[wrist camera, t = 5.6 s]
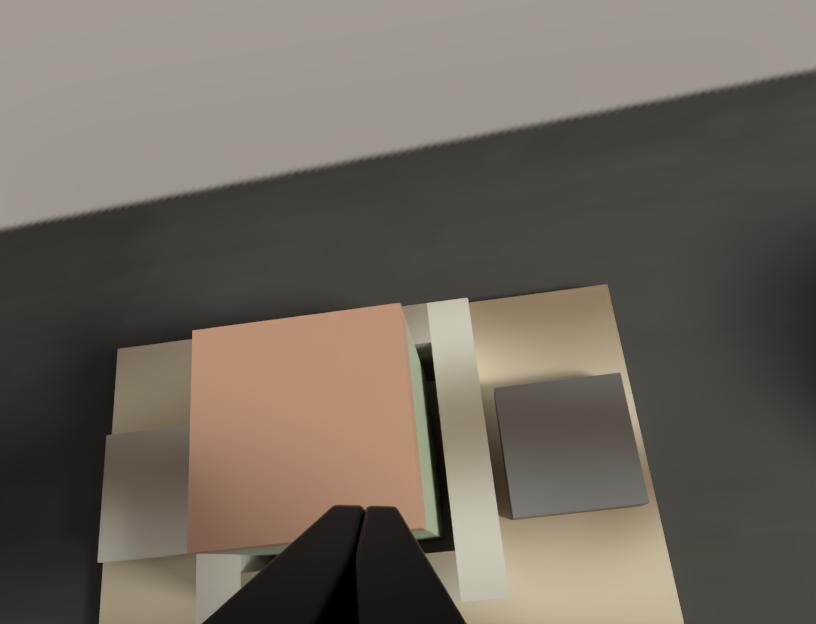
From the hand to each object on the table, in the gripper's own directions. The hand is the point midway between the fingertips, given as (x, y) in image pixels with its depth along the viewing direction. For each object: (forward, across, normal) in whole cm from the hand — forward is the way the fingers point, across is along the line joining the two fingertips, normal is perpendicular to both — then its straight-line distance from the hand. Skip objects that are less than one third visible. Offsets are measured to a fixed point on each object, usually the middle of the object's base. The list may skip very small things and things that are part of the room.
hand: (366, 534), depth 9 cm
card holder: (+12, +1, +6) cm, 14 cm away
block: (+11, +1, +5) cm, 12 cm away
